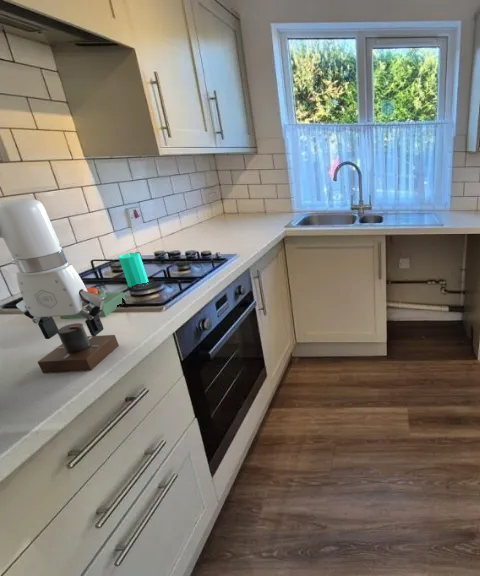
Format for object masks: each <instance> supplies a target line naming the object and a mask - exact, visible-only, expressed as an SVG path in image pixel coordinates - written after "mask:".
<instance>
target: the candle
mask: <svg viewBox="0 0 480 576" xmlns="http://www.w3.org/2000/svg"><path fill="white" fill-rule="evenodd" d="M118 260H119V263H120V266H121V269H122V272H123V274H124V277H125V280H126V283H127V287H128V288H132V287H131V286H134V285H136V284H142V283H147V282H149V279H148V275H147V273H146V269H145V265H144V263H143V260H142V256H141V253H140V252H129V249H128V250H127V253H124V254H120V255H119V256H118ZM147 284H148V283H147Z"/></svg>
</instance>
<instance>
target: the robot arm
mask: <svg viewBox="0 0 480 576" xmlns="http://www.w3.org/2000/svg"><path fill="white" fill-rule="evenodd" d="M0 239H3V241H4V243H5V245H6V247H7V249H8V252H9V253H10V255H11V257H12V259H11V263H12V264H13V265H15V266H16V267H17V270H18V271H17V272H16V281H17V286H18V288H19V292H20V294H21V298H22V300H21V301H19V302H18V303H16V304H15V306H16V308H17V309H19V311H21V312H22V313H23V314H24V316H25V317H27V318H29V319H31V320H32V322H33V323H34V324H37V325H38V327H39V329H40V331H41V334H42V336H43V337H44V339H45V340H50V339H51V338H53V337H54V336H56V335H58V333H57V331H58V330H59V327H58V325H57V324H56V321H55V319H54V318H53V317H60V316H68V315H75V314H77V313H79V314H81V315H82V316H84V317H85V318H84V319H86V320H85V322H84V323H85V324H86V325H85V326H86V327H87V329H88V332H89V333H90V336H98V334H100V333H101V332H102V331H104V325H103V323H102V320H101V317H99V314H100V313H101V310H102V309H103V304H104V297H102V296H99V295H96V294H93V293H90V292H88V291H87V289H86V288H87V287H86V284H84V283H85V282H84V281H83V279H82V278H81V276H80V275H79V273H78V272H77V270H76V268H75V267H74V265H72V263H69V262H68V260H67V257H66V254H65V252H64V250H63V247H62V245H61V242H60V240H59V238H58V236H57V233H56V231H55V229H54V226H53V224H52V222H51V220H50V217H49V215H48V212H47V210H46V208H45V206H44V204H43V203H42V202H41V201H40V200H38V199H35V198H19V199H18V198H17V199H9V200H3V201H0ZM91 302H93V303H94V306H92V305H91ZM85 309H87V310H89V311H90V313H89V312H88V311H86V310H85Z"/></svg>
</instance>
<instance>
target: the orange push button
mask: <svg viewBox="0 0 480 576" xmlns="http://www.w3.org/2000/svg"><path fill="white" fill-rule="evenodd" d="M86 289H87V291H88V292H90V293H93V294H96V295H97V294H98V291H97V290H98V288H96V287H95V286H94V287H93V286H91V287H86Z"/></svg>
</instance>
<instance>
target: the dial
mask: <svg viewBox="0 0 480 576" xmlns="http://www.w3.org/2000/svg"><path fill="white" fill-rule="evenodd" d="M57 335H58V337H59V339H60V342H61V344H63V346H64V348H65V350H66V352H68V353H72V352H78V351H81V350H83V349H85V348H87V347H88V346H89V345H90V342H89V339H88V337H87V336H88V334H87V332H86V329H85V327H84V324H82V323H80V322H76V323H70V324H67V325H64V326H61V327H60V328H58V331H57Z"/></svg>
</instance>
